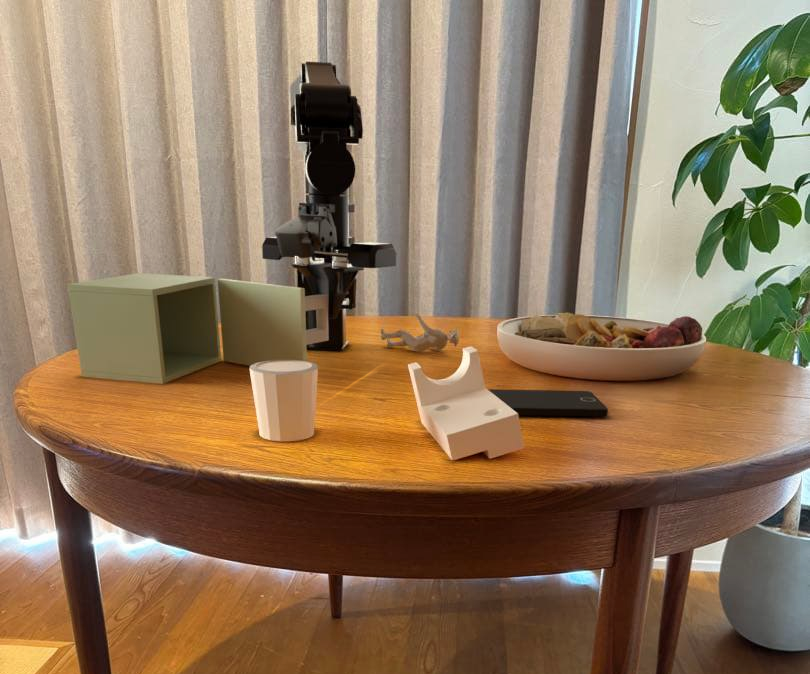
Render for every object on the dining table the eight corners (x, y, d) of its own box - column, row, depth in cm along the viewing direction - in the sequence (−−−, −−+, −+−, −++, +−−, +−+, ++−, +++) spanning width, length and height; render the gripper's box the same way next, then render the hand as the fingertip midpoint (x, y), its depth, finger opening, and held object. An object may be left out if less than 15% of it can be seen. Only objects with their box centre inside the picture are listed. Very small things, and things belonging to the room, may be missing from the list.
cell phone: (608, 417, 87) (609, 409, 86) (450, 415, 86) (451, 406, 86) (589, 398, 95) (590, 390, 94) (445, 395, 94) (445, 388, 94)
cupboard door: (259, 353, 116) (254, 275, 111) (337, 368, 107) (336, 284, 103) (223, 360, 110) (217, 278, 106) (303, 376, 102) (300, 288, 97)
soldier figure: (395, 350, 126) (464, 331, 122) (395, 374, 124) (466, 356, 120) (376, 321, 120) (449, 300, 116) (377, 346, 118) (451, 325, 114)
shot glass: (326, 425, 82) (324, 360, 79) (312, 445, 76) (310, 374, 73) (263, 422, 82) (259, 357, 79) (245, 441, 76) (240, 371, 73)
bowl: (470, 372, 107) (473, 315, 104) (522, 339, 133) (526, 292, 129) (694, 396, 97) (705, 333, 94) (704, 355, 123) (713, 304, 119)
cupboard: (221, 361, 111) (215, 277, 106) (163, 384, 97) (152, 289, 92) (148, 355, 114) (138, 273, 109) (81, 377, 100) (67, 284, 95)
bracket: (423, 430, 84) (407, 364, 81) (484, 412, 85) (470, 346, 81) (454, 469, 73) (437, 394, 69) (524, 448, 73) (510, 372, 70)
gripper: (230, 192, 98) (238, 317, 104) (350, 196, 89) (350, 332, 96) (286, 193, 107) (290, 309, 113) (400, 197, 98) (397, 322, 104)
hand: (328, 317), depth 106 cm, fingers closed on cupboard door
